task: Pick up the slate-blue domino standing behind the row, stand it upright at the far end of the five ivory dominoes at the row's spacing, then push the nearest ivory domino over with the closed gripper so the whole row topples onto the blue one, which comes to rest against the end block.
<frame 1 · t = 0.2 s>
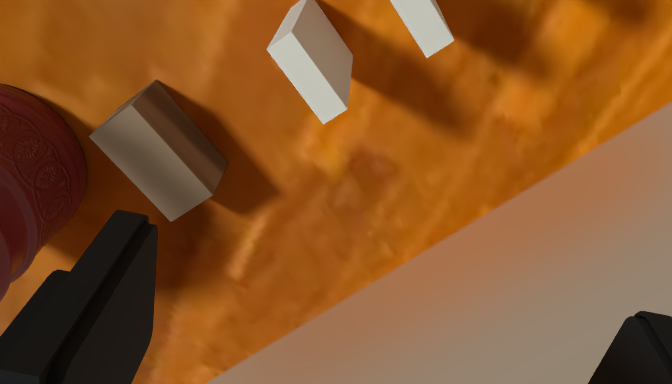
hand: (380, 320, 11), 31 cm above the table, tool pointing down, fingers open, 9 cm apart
canister: (10, 156, 46), on the table
end block: (174, 136, 44), on the table
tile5: (322, 31, 39), on the table
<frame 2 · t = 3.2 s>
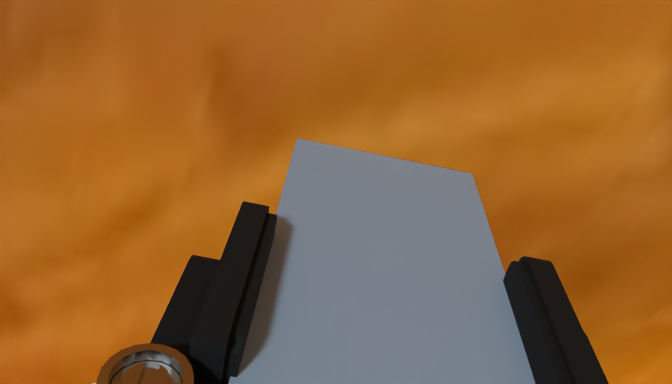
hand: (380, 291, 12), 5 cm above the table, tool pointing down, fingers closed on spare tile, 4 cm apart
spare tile: (378, 180, 17), on the table, touching gripper
when the fingers open (5 cm above the table, at t = 8.2 s): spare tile stays where it is, on the table.
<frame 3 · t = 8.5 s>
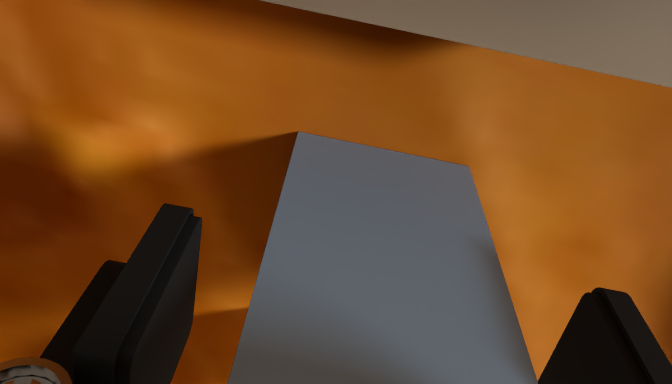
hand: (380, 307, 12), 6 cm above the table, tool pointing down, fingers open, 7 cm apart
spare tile: (377, 173, 17), on the table
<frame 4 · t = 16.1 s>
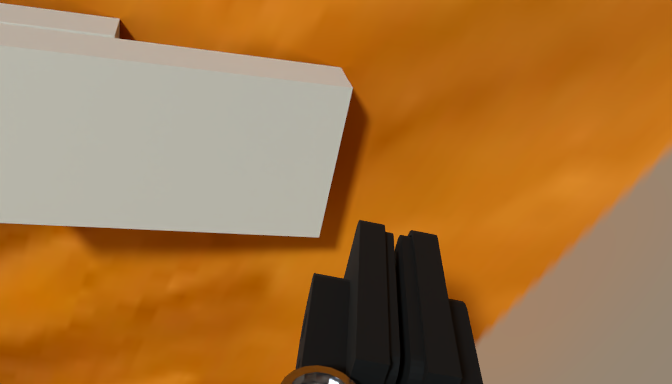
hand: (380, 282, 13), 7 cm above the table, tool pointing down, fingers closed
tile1: (329, 155, 18), point 1 cm above the table, tilted 75°, touching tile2
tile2: (116, 109, 17), point 1 cm above the table, tilted 74°, touching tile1, tile3
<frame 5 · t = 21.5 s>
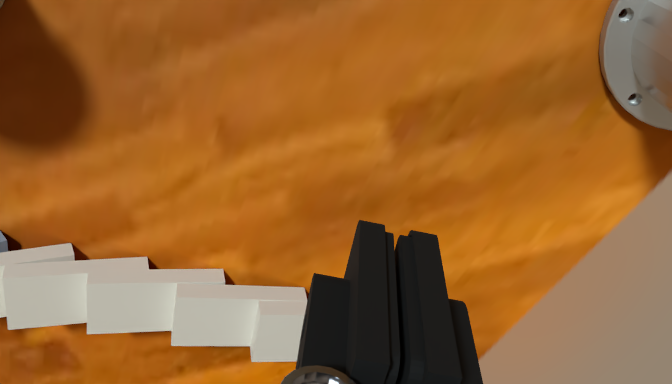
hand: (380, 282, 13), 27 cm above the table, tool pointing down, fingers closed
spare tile: (5, 260, 47), point 1 cm above the table, tilted 42°, touching end block, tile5
tile3: (220, 299, 47), point 1 cm above the table, tilted 71°, touching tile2, tile4
tile4: (147, 287, 47), point 1 cm above the table, tilted 67°, touching tile3, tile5
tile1: (375, 331, 48), point 1 cm above the table, tilted 75°, touching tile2
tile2: (299, 317, 48), point 1 cm above the table, tilted 75°, touching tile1, tile3
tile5: (73, 273, 47), point 1 cm above the table, tilted 57°, touching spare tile, tile4
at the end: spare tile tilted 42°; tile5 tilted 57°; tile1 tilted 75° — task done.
